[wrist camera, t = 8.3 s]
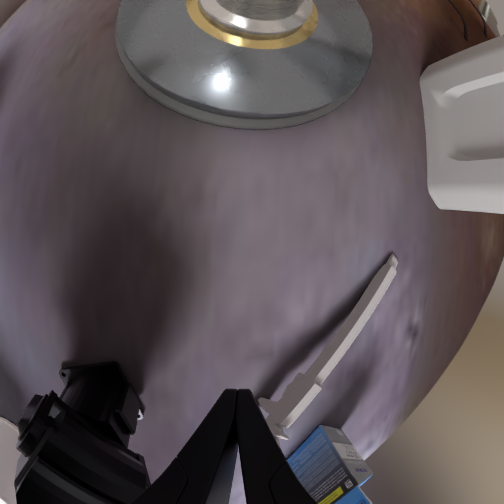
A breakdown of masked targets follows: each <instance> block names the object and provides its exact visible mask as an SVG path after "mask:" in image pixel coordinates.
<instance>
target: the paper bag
mask: <svg viewBox="0 0 504 504" xmlns="http://www.w3.org/2000/svg"><path fill="white" fill-rule="evenodd" d="M419 81H420V88H421V95H422V102H423V110H424V120H425V131H426V146H427V184H428V191H429V193H430V195H431V197H432V199H433V200H434V202H435V203H436V205H437V206H438V208H440V209H449V210H464V211H477V212H489V213H500V214H504V35H502V36H499V37H496V38H493V39H491V40H488V41H485V42H483V43H480V44H478V45H475V46H473V47H470V48H468V49H465V50H463V51H460V52H458V53H456V54H453V55H451V56H449V57H446V58H444V59H442V60H440V61H438V62H435V63H433V64H431V65H429V66H428V67H427V68H426V69H425V71H424V72H423V74H422V75H421V76H420V80H419Z"/></svg>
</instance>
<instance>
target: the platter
mask: <svg viewBox="0 0 504 504" xmlns="http://www.w3.org/2000/svg"><path fill="white" fill-rule="evenodd" d="M312 2H313V9H312V13H311V15H310V16H309V18H308V19H307V21H306V22H305V23H304V25H303V26H302V27H301V29H300V30H298V31H297V32H296V33H294V34H292V35H290V36H288V37H285V38H281V39H276V40H250V39H245V38H240V37H236V36H233V35H230V34H228V33H225V32H223V31H221V30H219V29H217V28H216V27H214V26H213V25H211V24H210V23H209V22H208V21H207V20H206V19H205V18H204V17H203V16H202V14H201V13H200V11H199V8H198V3H197V0H122V1H121V4H120V7H119V10H118V16H117V28H118V35H119V38H120V41H121V44H122V47H123V49H124V52H125V54H126V56H127V58H128V60H129V61H130V63H131V65H132V66H133V67H134V69H135V70H136V71H137V72H138V73H139V75H140V76H141V77H142V78H143V79H145V80H146V81H147V82H148V83H149V84H150V85H151V86H153V87H154V88H156V89H157V90H159V91H160V92H162V93H163V94H165V95H166V96H168V97H170V98H172V99H174V100H176V101H178V102H180V103H182V104H185V105H188V106H190V107H193V108H196V109H199V110H201V111H205V112H209V113H213V114H217V115H221V116H227V117H234V118H240V119H256V120H267V119H283V118H290V117H297V116H301V115H304V114H308V113H312V112H315V111H317V110H319V109H322V108H324V107H326V106H328V105H330V104H331V103H333V102H335V101H336V100H338V99H340V98H341V97H343V96H344V95H346V94H347V93H348V92H350V91H351V90H352V89H353V88H354V87H355V86H357V84H358V83H359V82H360V81H361V79H362V78H363V77H364V75H365V73H366V71H367V69H368V68H369V65H370V61H371V58H372V50H373V41H372V33H371V29H370V25H369V22H368V20H367V17H366V15H365V13H364V11H363V9H362V8H361V6H360V4H359V3H358V1H357V0H312Z"/></svg>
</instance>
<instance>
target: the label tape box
mask: <svg viewBox="0 0 504 504" xmlns="http://www.w3.org/2000/svg"><path fill="white" fill-rule="evenodd" d="M286 461H287V462H288V463H289V465H290V467H291V469H292V470H293V472H294V473H295V475H296V477H297V478H298V480H299V481H300V483H301V484H302V485H303V487H304V488H305V489H306V491H307V492H308V493H309V494H310V495H311V497H312V498H313V499H314V500H315V501H316V502H317V504H372V502H371V500H369V499H368V497H367V496H366V494H365V493H364V492H363V491H362V490H361V488H360V486H361V485H362V484H363V483H364V482H365V481H366V480H367V479H368V478H370V477H371V476H372V475H373V473H372V471H371V470H370V469H369V467H368V466H367V464H366V463H365V462H364V460H363V459H362V458H361V456H360V455H359V453H358V452H357V451H356V449H355V448H354V446H353V445H352V443H351V442H350V441H349V439H348V438H347V436H346V435H345V434H344V432H343V431H342V430H341V429H338V428H334V427H329V426H324V425H319V426H318V427H317V429H316V430H315V431H314V432H313V433H312V434H311V435H310V436H309V437H308V439H307V440H306V441H305V442H304V443H303V444H302V445H301V446H300V447H299V448H298V449H297V450H296V451H295V452H294V453H293V454H292V455H291V456H290V457H289V458H288V459H287V460H286Z"/></svg>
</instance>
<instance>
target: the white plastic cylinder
mask: <svg viewBox="0 0 504 504" xmlns="http://www.w3.org/2000/svg"><path fill="white" fill-rule="evenodd" d="M18 435H19V431H18V427H17V426H16V425H14V424H13V423H11V422H10V421H8V420H7V419H5V418H3V417H0V504H17V501H16V492H15V487H14V479H15V473H16V467H17V462H18V459H19V457H20V456H21V454H22V453H21V452H19V451H18V450H17V449H16V445H17V442H18Z"/></svg>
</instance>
